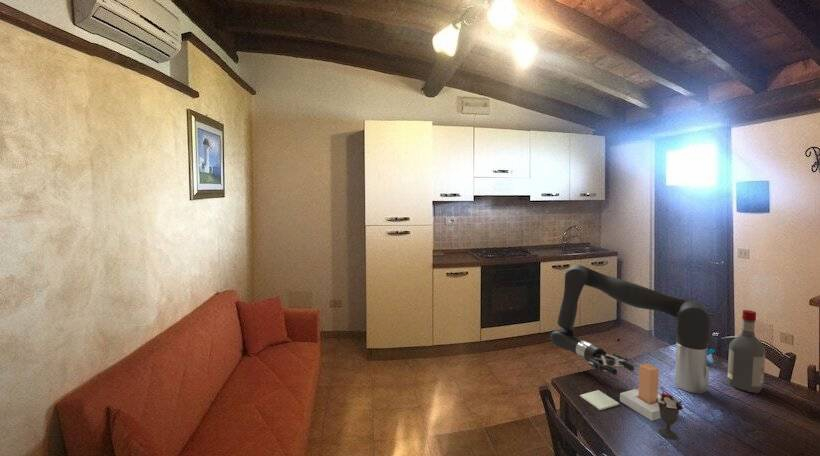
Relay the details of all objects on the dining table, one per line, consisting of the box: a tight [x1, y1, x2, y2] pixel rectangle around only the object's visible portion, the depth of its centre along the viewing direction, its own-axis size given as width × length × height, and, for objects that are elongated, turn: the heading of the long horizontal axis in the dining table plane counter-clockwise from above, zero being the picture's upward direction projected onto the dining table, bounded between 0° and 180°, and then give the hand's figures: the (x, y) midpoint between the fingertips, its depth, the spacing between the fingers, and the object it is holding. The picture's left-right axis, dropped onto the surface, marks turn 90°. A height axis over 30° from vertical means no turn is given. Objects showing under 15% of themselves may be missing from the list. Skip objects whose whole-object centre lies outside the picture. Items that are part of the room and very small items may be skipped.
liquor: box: [726, 309, 766, 394], centre depth 131 cm, size 9×9×30 cm
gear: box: [706, 348, 716, 366], centre depth 150 cm, size 11×6×10 cm
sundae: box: [656, 386, 684, 440], centre depth 107 cm, size 7×7×15 cm
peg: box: [638, 362, 660, 405], centre depth 121 cm, size 4×4×15 cm
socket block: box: [619, 387, 661, 422], centre depth 121 cm, size 12×12×3 cm
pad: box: [579, 389, 620, 411], centre depth 126 cm, size 9×9×1 cm
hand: (624, 370), depth 129 cm, fingers open, 8 cm apart
